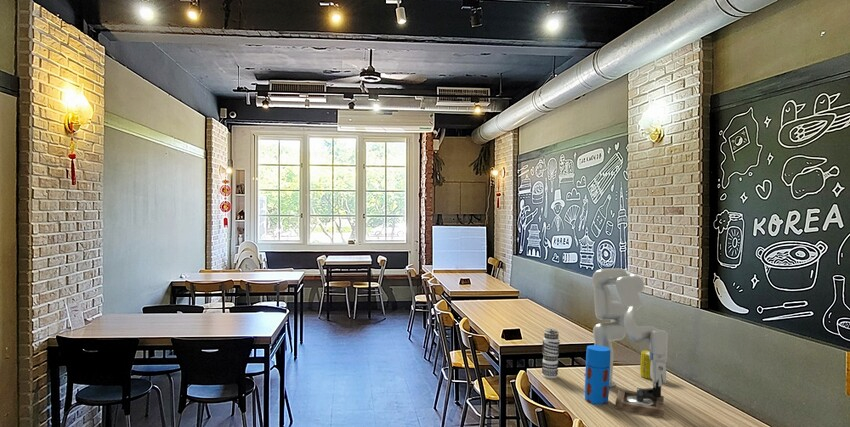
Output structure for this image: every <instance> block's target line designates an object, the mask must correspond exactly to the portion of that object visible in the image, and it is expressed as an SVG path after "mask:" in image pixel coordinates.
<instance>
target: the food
mask: <svg viewBox="0 0 850 427" xmlns="http://www.w3.org/2000/svg"><path fill="white" fill-rule="evenodd" d="M649 352H650V350H646V349H644V350H642V351H641V352H640V353H641V354H640V365H639V366H640V367H639V369H640V371H639V372H640V374H639V375H640V377H641V378H643V379H644V378H645V379H651V377H650V367H651V360H650V359H649ZM651 380H652V379H651Z"/></svg>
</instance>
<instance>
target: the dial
mask: <svg viewBox="0 0 850 427" xmlns="http://www.w3.org/2000/svg"><path fill="white" fill-rule="evenodd" d="M636 392H637V396H628V397H627V402H631V403H636V404H642V405H648V406H653V405H654V402H653V401H652V400H651V399H649V398H660V397H654V396H653V387H649V388H645V387H644V388H639V387H638V388H636Z"/></svg>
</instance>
